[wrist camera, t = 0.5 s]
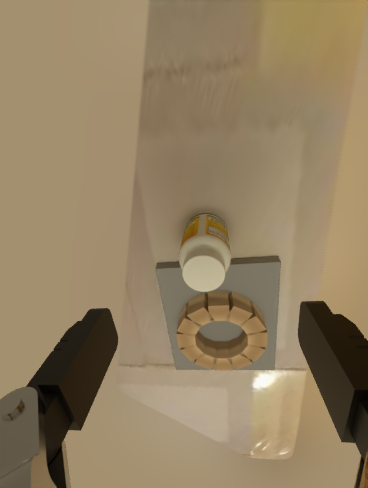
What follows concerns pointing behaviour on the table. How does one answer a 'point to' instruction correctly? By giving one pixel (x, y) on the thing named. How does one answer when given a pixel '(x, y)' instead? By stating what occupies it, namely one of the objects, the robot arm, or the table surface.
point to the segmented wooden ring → (221, 309)
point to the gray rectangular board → (237, 280)
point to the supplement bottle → (205, 253)
